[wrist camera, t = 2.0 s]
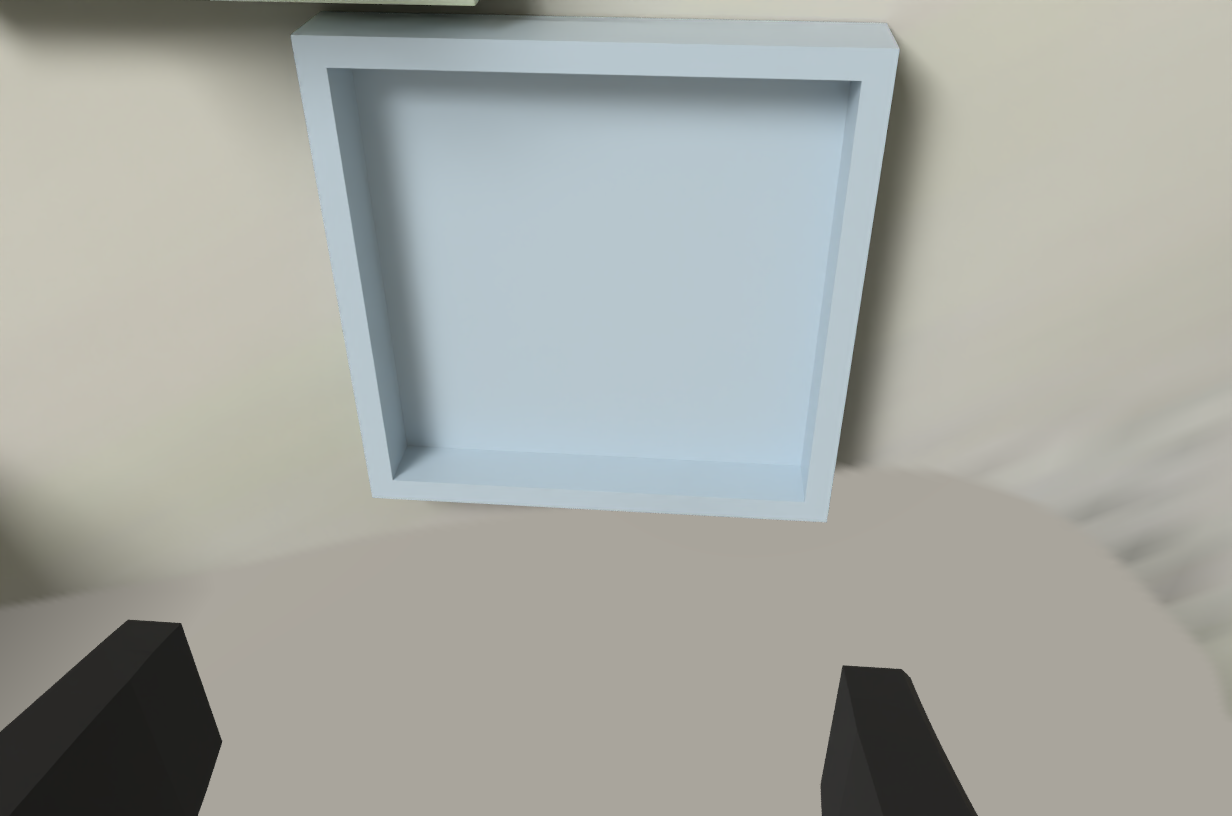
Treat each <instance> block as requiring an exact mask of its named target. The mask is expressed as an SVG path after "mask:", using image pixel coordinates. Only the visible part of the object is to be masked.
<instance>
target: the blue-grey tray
mask: <svg viewBox="0 0 1232 816" xmlns="http://www.w3.org/2000/svg"><path fill="white" fill-rule="evenodd" d="M291 41H292V47H293V52H294V58H295V64H296V69H297V75H298V80H299V86H300V92H301V97H302V103H303V109H304V114H305V120H306V126H307V131H308V137H309V142H310V148H311V154H312V159H313V165H314V171H315V176H316V182H317V188H318V193H319V199H320V204H321V210H322V216H323V221H324V227H325V233H326V238H327V244H328V250H329V255H330V261H331V266H332V272H333V278H334V283H335V289H336V295H337V300H338V306H339V312H340V317H341V323H342V328H343V334H344V340H345V345H346V351H347V357H348V362H349V368H350V374H351V379H352V385H353V390H354V396H355V402H356V407H357V413H358V419H359V424H360V430H361V436H362V441H363V447H364V452H365V458H366V464H367V469H368V475H369V481H370V486H371V492H372V497H373V498H389V499H408V500H426V501H444V502H463V503H481V504H500V505H518V506H536V507H555V508H573V509H592V510H611V511H629V512H648V513H665V514H684V515H702V516H721V517H740V518H759V519H776V520H794V521H795V520H796V521H813V522H827V516H828V511H829V504H830V498H831V491H832V485H833V477H834V472H835V465H836V459H837V452H838V446H839V439H840V433H841V426H842V420H843V413H844V407H845V400H846V394H847V387H848V381H849V374H850V368H851V361H852V355H853V348H854V342H855V335H856V329H857V322H858V316H859V310H860V303H861V297H862V290H863V284H864V277H865V271H866V264H867V258H868V251H869V245H870V238H871V232H872V225H873V219H874V212H875V206H876V199H877V193H878V186H879V180H880V173H881V167H882V160H883V154H884V147H885V141H886V134H887V128H888V121H889V115H890V109H891V102H892V96H893V89H894V83H895V76H896V70H897V63H898V57H899V50H900V48H899V46H898V44H897V42H896V40H895V38H894V36H893V35H892V33H891V31H890V29H889V27H888V25H887V23H863V22H815V21H767V20H718V19H670V18H622V17H574V16H525V15H477V14H429V13H381V12H332V11H320V12H319V13H318V14H317V15H315V16H314V17H313V18H312V19H310V20H309V21H308V22H306V23H305V24H304V25H303V26H301V27H300V28H299V29H298V30H296V31H295V32H294V33H292V34H291Z"/></svg>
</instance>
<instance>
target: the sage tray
mask: <svg viewBox="0 0 1232 816" xmlns="http://www.w3.org/2000/svg"><path fill="white" fill-rule="evenodd" d="M212 1H262V2H311V3H361V4H411V5H460V6H475V5H476V4H477V2H478V1H479V0H212Z"/></svg>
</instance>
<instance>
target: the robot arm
mask: <svg viewBox="0 0 1232 816" xmlns="http://www.w3.org/2000/svg"><path fill="white" fill-rule="evenodd" d="M221 744H222V740H221V737H220V735H219V731H218V728H217V726H216V722H215V720H214V717H213V714H212V711H211V708H210V706H209V702H208V700H207V697H206V694H205V691H204V688H203V685H202V682H201V679H200V677H199V674H198V671H197V668H196V665H195V662H194V659H193V656H192V653H191V650H190V648H189V645H188V642H187V639H186V637H185V633H184V630H183V627H182V625H181V623H170V622H155V621H139V620H127V621H126V622H125V623H124V624H123V625H121V626H120V627H119V628H118V629H117V630H116V631H114V632H113V633H112V634H111V635H110V636H109V637H107V638H106V639H105V640H104V641H103V642H102V643H100V644H99V645H98V646H97V647H96V648H95V649H94V650H93V651H91V652H90V653H89V654H88V655H87V656H86V657H85V658H83V659H82V660H81V661H80V662H79V663H78V664H77V665H76V666H74V667H73V668H72V669H71V670H70V671H69V672H68V673H66V674H65V675H64V676H63V677H62V678H61V679H60V680H59V681H58V682H57V683H55V684H54V685H53V686H52V687H51V688H50V689H48V690H47V691H46V692H45V693H44V694H43V695H42V696H40V697H39V698H38V699H37V700H36V701H35V702H34V703H33V704H32V705H30V706H29V707H28V708H27V709H26V710H25V711H23V712H22V713H21V714H20V715H19V716H18V717H17V718H16V719H15V720H13V721H12V722H11V723H10V724H9V725H8V726H6V727H5V728H4V729H3V730H2V731H1V732H0V816H198V813H199V810H200V808H201V805H202V802H203V799H204V796H205V793H206V791H207V787H208V785H209V781H210V778H211V775H212V772H213V769H214V766H215V763H216V759H217V757H218V753H219V750H220V747H221ZM821 807H822V816H978V815H977V814H976V812H975V810H974V808H973V806H972V804H971V802H970V801H969V799H968V797H967V795H966V793H965V791H964V789H963V787H962V785H961V783H960V782H959V780H958V778H957V776H956V774H955V772H954V770H953V768H952V766H951V764H950V762H949V760H948V758H947V756H946V754H945V752H944V750H943V749H942V746H941V744H940V742H939V740H938V738H937V736H936V734H935V732H934V730H933V728H932V726H931V723H930V722H929V719H928V717H927V715H926V713H925V710H924V708H923V706H922V704H921V702H920V699H919V697H918V695H917V692H916V690H915V688H914V685H913V683H912V680H911V678H910V677H909V676H908V675H907V674H906V673H905V672H904V671H903V670H902V669H890V668H875V667H858V666H843V667H842V672H841V678H840V683H839V688H838V694H837V699H836V705H835V710H834V715H833V721H832V726H831V731H830V737H829V742H828V748H827V753H826V759H825V764H824V769H823V775H822V780H821Z"/></svg>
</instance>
